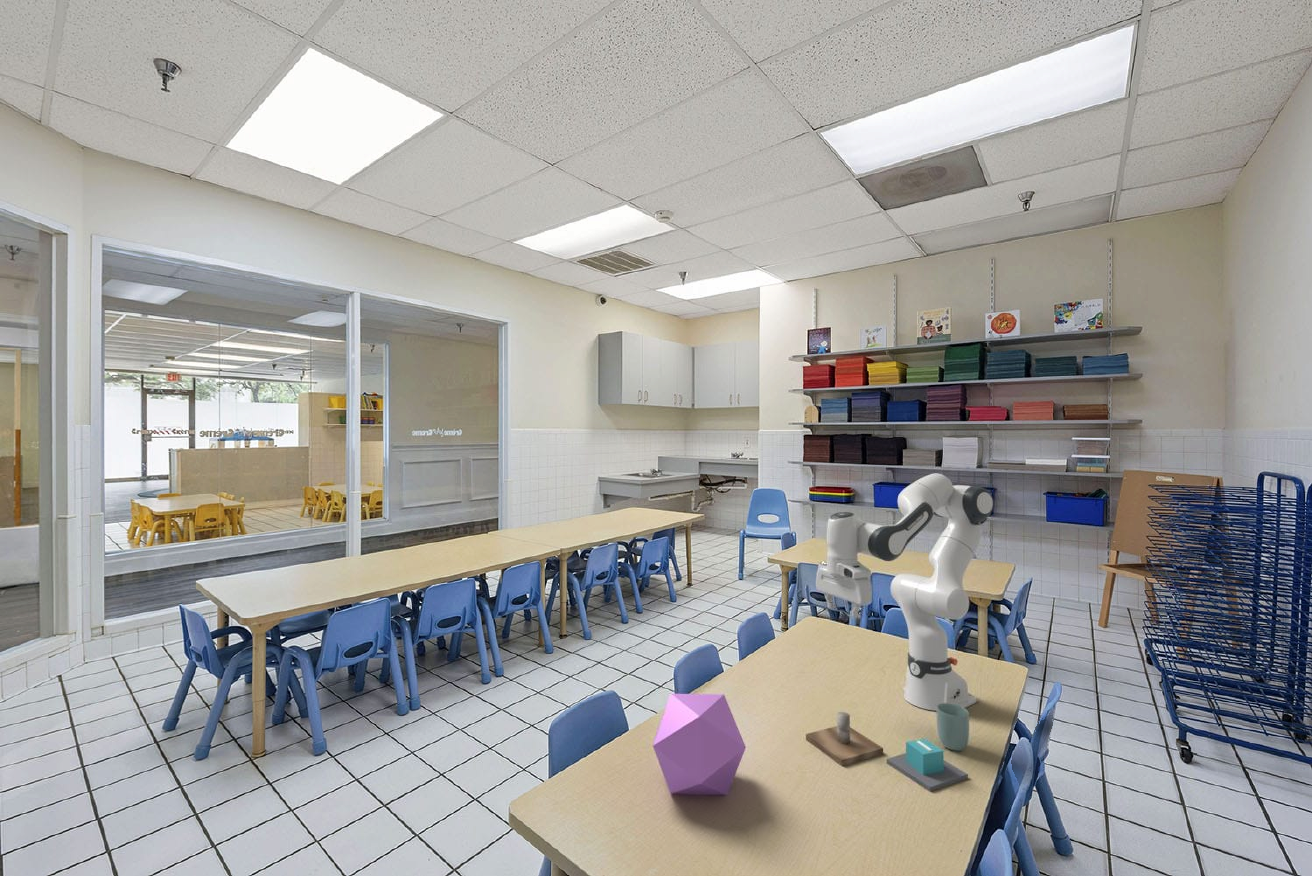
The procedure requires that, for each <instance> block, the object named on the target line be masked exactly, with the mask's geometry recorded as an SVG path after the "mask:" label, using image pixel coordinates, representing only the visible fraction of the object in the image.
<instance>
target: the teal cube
mask: <svg viewBox="0 0 1312 876" xmlns="http://www.w3.org/2000/svg"><path fill="white" fill-rule="evenodd" d="M905 753H906V762H907V763H908V764H910V765H911V766H912V767H914V768H915V769H916V770H917V771H919V772H920V773H921V774H923V775H926V774H932V773H937V772H942V771H944V750H943V749H942V748H940V747H939V746H937V745H936V744H935V743H933V742H932V741H930V740H928V739H927V738H922V739H915V740H914V739H913V740H908V741H906V742H905Z"/></svg>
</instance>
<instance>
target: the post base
mask: <svg viewBox="0 0 1312 876" xmlns="http://www.w3.org/2000/svg"><path fill="white" fill-rule="evenodd" d="M836 715H837V717H836V718H837V719H836V724H837V725H835V726H832V727H829V728H824V729H821V730H816V731H813V732H809V733H806V734H805V740H806V741H807V742H808V743H810V744H811V745H813V746H814V747H815V748H817V749H818V750H819V751H821V753H822V752H823V754H825V755H826V756H828V757H829V758H831V759H832V760H833V761H835V762H836V763H837V764H838V765H840V766H841V767H844V766H847V765H850V764H853V763H857V762H860V761H864V760H867V759H870V758H874V757H877V756H880V755H884V747H883V746H881V745H879V744H878V743H877V742H874V741H873V740H871V739H870V738H868V737H867V736H865V735H863V734H862V733H860V732H859V731H857V730H856V729H854V728H852V727H851V720H850V719H851V718H850V717H851V715H850V714H849V713H848V712H845V711H838V712H837V714H836Z"/></svg>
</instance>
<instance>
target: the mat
mask: <svg viewBox="0 0 1312 876" xmlns="http://www.w3.org/2000/svg"><path fill="white" fill-rule="evenodd" d="M886 764H887V765H889V766H891V767H892V768H894V770H897V771H898V772H900V773H901V774H903V775H904V776H905V777H907V778H909V779H910V780H911V781H913V782H915V783H916V784H918V785H919V786H921V787H922V788H924V789H925V790H927V791H928V792H932V791H936V790H939V789H942V788H944V787H948V786H950V785H953V784H955V783H958V782H962V781H965V780H967V779H969V774H968V772H965V771H963V770H962V769H961V768H958V767H957V766H955V765H953V764H952V763H950V762H948V761H946V760H944V771H942V772H937V773H932V774H926V775H923V774H921V773H920V772H919V771H917V770H916V769H915V768H914V767H912V766H911V765H910V764H908V763H907V762H906V752H905V753H901V754H897V755H895V756H892V757H888V758H886Z"/></svg>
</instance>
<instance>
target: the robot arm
mask: <svg viewBox="0 0 1312 876" xmlns="http://www.w3.org/2000/svg"><path fill="white" fill-rule="evenodd" d="M994 504H995V502H994V498H993V495H992V493H991V492H990V490H988V489H986V488H984V487H982V486H977V485H972V486H971V485H963V484H961V485H960V484H957V485H956V484H955V485H953V482H952V481H951V480H950V478H949V477H947V476H946V475H944V474H942V473H930V474H928V475H925V476H923V477H921V478H919V479H917V480H915V481H914V482H912V483H910V484H909V485H907V486H906V487H905V488H903V489H902V490H901V491H900V493H899V494H898V497H897V507H898V509H899V511H900V513H901V514H902V515H903V517H901V519H900V520H899V521H898V522H896V523H895V524H891V525H890V524H889V525H883V524H877V523H871V522H867V521H865V520H862V519H860V518H859V517H858V516H856V515H855V513H854V512H850V511H843V512H841V511H839V512H835V513H833V514H831V515H830V516H829V517H828V519H827V520H828V522H827V528H826V543H827V553H826V561H821V562H820V563H819V564H818V565H817V570H816V577H815V587H816V590H817V591H819V592H822V593H824V599H825V600H826V603H827V608H828V609H830V610H835V609H836V602H834V599H833V597H836V598H839V599H841V600H844V601H846V602H850V603H851V605H852V609H851V610H849V616H850V617H851V618H854V619H856V618H858V617H859V611H860V609H861V607H862V606H868V605H870V604H871V603H872V601H873V585H872V581H871V579H870V578H871V576H872V572H871V571H872V570H871V569H870V568H867V567H866V566H865V565H864V564H862V563H861V562H860V561H858V554H862V555H867V556H870V557H874V558H877V559H879V560H882V561H885V562H893V561H895V560H897V559H898V558H899V557H900V556H901V555H902V554H903V552H904V550H905V549H906V547H907V546H908V544H909V543H910V542H911V541H912V540H914V539H915V537H917V535H918V534H919V533H920V532H921V531H923V530H924V528H925V527H926V526H927V525H928V524H929V523H930V522H931V520H932V519H933V516H936V517H940V518H948V521H947V526H946V527H945V529H944V530H943V531H942V533H941V535H940V536H939V538H938V539H937V541H936V543H935V544H934V546H933V548H932V549H931V550H930V552H929V555H928V561H929V564H930V566H931V567H932V569H933V574H932V576H930V577H927V576H922V575H919V574H915V573H899V574H897V575H895V576H894V578H892V581H891V583H890V594H891V596H892V598H893V599H894V600H895V602H896V603H897V604H898V606H899V607H900V609H901V611H902V614H903V616H904V619H905V622H906V625H907V632H908V653H907V657H906V659H907V665H908V666H907V667H906V676H905V685H904V686H903V687H902V688H903V689H902V690H903V693H904V694H903V698H904V699H905V701H906V702H908V703H909V704H911V705H913V706H915V707H918V708H921V709H924V710H929V711H934V712H935V711H936V712H937V705H938V704H941V703H950V704H956V705H959V706H962V707H964V708H965V709H967V708H968V707H970V706H972V705H973V704H975V703H977V701H978V700H977V697H975V696H974V695H973V694H971V693H970V692H969V688H968V682H967V681H966V679H965V678H963V677H962V676H961V675H959V673H957V672H956V671H955V670H953V668H952V666H957V665H958V662H959V661H958V660H957V658H954V657H951V656H950V657H949V654H948V652H949V651H948V635H947V632H946V630H945V629H944V628H943V627H942V625H941V624H940V623H939V622H938V620H937V618H936V617H938V618H941V619H946V620H960V619H962V618H964V617H965V615H966V614H967V612H968V610H969V608H970V607H969V606H970V599H969V596H968V594H967V592H966V591H965V589H964V585H963V578H964V575H965V572H966V570H967V568H968V566H969V565H970V563H971V561H972V559H973V557H974V555H975V554H976V552H977V549H978V547H979V545H980V541H981V538H982V535H983V528H982V526H981V525H983V524H984V523H985V522H986V521H987V520H988V518H989V517H990V515H991V514H992V511H993V509H994V506H995V505H994Z"/></svg>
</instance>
